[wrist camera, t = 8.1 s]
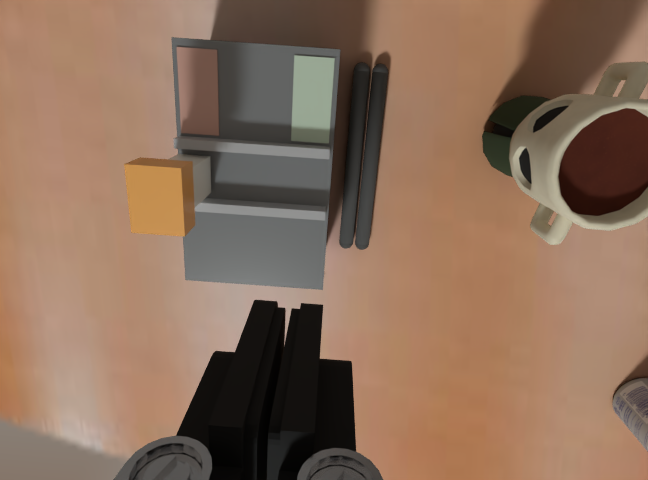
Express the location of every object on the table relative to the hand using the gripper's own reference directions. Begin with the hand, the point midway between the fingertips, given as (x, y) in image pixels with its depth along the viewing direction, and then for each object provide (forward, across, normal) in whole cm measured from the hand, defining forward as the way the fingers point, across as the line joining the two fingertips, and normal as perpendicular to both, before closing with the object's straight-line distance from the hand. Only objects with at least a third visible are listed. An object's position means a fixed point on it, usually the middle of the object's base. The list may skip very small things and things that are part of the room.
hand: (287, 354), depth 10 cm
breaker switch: (+18, +8, 0) cm, 20 cm away
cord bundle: (+27, -3, 0) cm, 27 cm away
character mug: (+27, -16, -3) cm, 31 cm away
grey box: (+27, +4, 0) cm, 27 cm away
